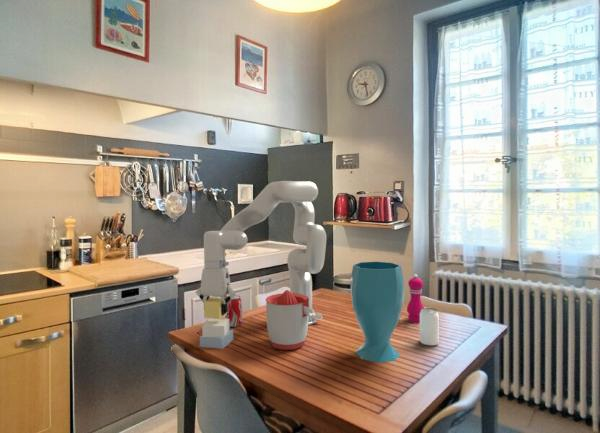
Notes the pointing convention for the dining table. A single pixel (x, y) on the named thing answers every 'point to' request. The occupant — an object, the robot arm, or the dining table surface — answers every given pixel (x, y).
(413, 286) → the pepper mill
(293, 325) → the citrus juicer
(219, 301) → the stack cube
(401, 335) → the dining table surface
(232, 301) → the soda can
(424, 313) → the can
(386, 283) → the vase
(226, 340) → the base block
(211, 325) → the top block
